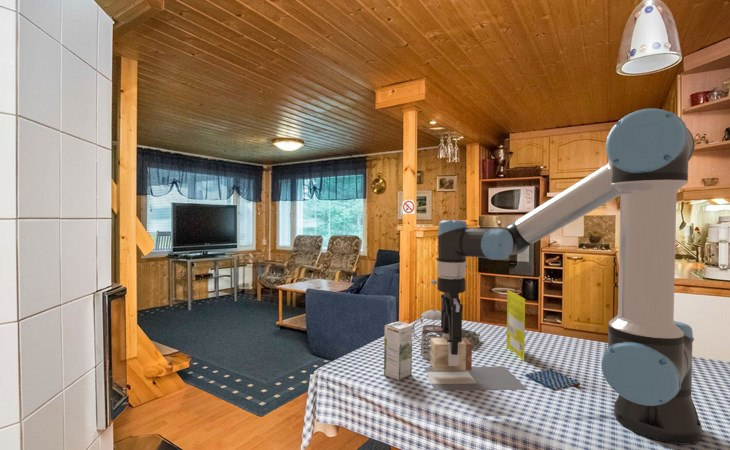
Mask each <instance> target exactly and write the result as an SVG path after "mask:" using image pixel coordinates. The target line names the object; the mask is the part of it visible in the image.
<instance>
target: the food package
mask: <svg viewBox="0 0 730 450" xmlns="http://www.w3.org/2000/svg"><path fill="white" fill-rule="evenodd" d="M506 298H507V300H506V301H507V302H506V303H507V304H506V347H507V349H508V350H509V351H510V352H514V354H516V355H517V356H518V357H519V358H520V359H521V360H522V361H523V362H525V345H526V344H525V343H526V342H525V341H526V339H525V336H526V335H525V334H526V333H525V332H526V331H525V330H526V298H524V297H523V296H521V295H519V294H517V293H515V292H513V291H512V290H509V289H507V294H506Z"/></svg>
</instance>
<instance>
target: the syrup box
mask: <svg viewBox="0 0 730 450" xmlns="http://www.w3.org/2000/svg"><path fill="white" fill-rule="evenodd" d="M412 328H414V327H413V324H409V323H407V322H402V321H395V322H391V323H388V324H385V325H384V343H383V344H384V346H383V347H384V348H383V349H384V350H383V352H384V355H383V375H384V376H386V377H389V378H391V379H394V380H397V381H401V380H403V379H405V378H408V377H409V376H412V370H413V369H412V368H413V367H412V366H413V362H412V361H413V360H412V359H413V358H412V357H413V329H412Z"/></svg>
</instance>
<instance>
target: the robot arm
mask: <svg viewBox="0 0 730 450" xmlns="http://www.w3.org/2000/svg"><path fill="white" fill-rule="evenodd" d="M685 123H686V122H685V121H684V120H683V119H682V118H681V117H680V116H678V114H676V113H674V112H672V111H667V110H665V109H660V108H654V107H653V108H652V107H651V108H643V109H639V110H636V111H633V112H631V113H627V115H624V116H623V117H622V118H620V120H618V121H617V122H616V123H615V124H614V125H613V126H612V127H611V129H610V130H609V132H608V134H607V137H606V139H605V140H606V141H605V151H606V155H607V158H608V161H607V163H605V165H603V166H602V167H600V168H598V169H597V170H594V172H592V173H590V174H588V175H587V176H585V177H584V178H582V179H581V180H579V181H577V182H575V183H574V184H572V185H571V186H569V187H567V188H566V189H564V190H563V191H561V192H560V193H558V194H556V195H555V196H553V197H551V198H550V199H548V200H546V201H545V202H544V203H542V204H541V205H539V206H537V207H535V208H534V209H532V210H531V211H529V212H527V213H526V214H524V215H522V216H521V217H519V218H518V219H516V220H515V221H513V222H511V223H510V224H508V225H507V226H505V227H499V228H497V227H495V228H493V227H492V228H480V227H479V228H478V227H477V228H471V227H468V226H467V221H465V220H459V219H458V220H456V219H453V220H452V219H451V220H449V219H448V220H447V219H445V220H444V219H443V220H440V221H439V223H438V229H437V230H438V231H437V275H438V277H437V280H436V281H437V284H436V285H437V286H436V287H437V291H439V292H440V293H442V294H441V295H440V298H441V299H440V301H441V302H440V303H441V305H440V306H441V311H440V312H441V320H440V326H441V329H442V332H443V333H444V334H443V338H449V340H447V342H448V366H459V342H462V329H463V309H464V308H463V307H464V306H463V304H462V303H461V299H460V298H459V294H462V293H464V292H466V285H467V284H466V281H467V280H466V270H467V268H468V267H469V266H468V264H467V257H471V258H479V259H480V258H481V259H488V260H489V259H490V260H492V261H494V260H506V259H508V258H509V257H510V256H514V255H515V256H517V255H518V254H522V253H523V252H525V251H527V250H528V247H530V246H531V245H533V244H535V243H536V242H538V241H540V240H542V239H544V238H546V237H547V236H549V235H551V234H553V233H554V232H556V231H558V230H560V229H562V228H564V227H566V226H567V225H569V224H571V223H573V222H575V221H576V220H578V219H579V218H582V217H584V216H585V215H587V214H589V213H591V212H593V211H594V210H596V209H598V208H600V207H602V206H604V205H606V204H607V203H610V202H611V201H613V200H614V199H616V198H618V197H620V198H619V199H620V201H619V202H620V203H619V246H618V247H619V248H618V249H619V251H618V253H619V254H618V290H617V291H618V296H617V297H618V299H617V302H618V303H617V306H618V307H617V315H616V316H615V317H613V318H612V319H610V320H609V321H608V332H607V334H608V335H607V337H608V338H607V348H606V349H605V351H604V353H603V354H602V358H601V371H602V375H603V377H604V379H605V381H606V383H607V384H608V386H610V387H611V388H612V389H613V391H615V393H617V394H618V395H617V398H616V400H615V401H614V406H613V413H614V414H613V416H614V418H615V419H616V420H617V421H618V422H619V424H621V425H623V426H624V427H625V428H626V429H629V430H630V431H633V432H634V433H637V434H639V435H641V436H643V437H647V438H650V439H653V440H657V441H660V442H665V443H670V444H676V445H691V444H696V443H698V442H700V441H701V440H702V438H703V437H702V436H703V428H702V427H703V426H702V423H701V420H700V419H699V415H698V412H697V409H696V406H695V403H694V401H693V398H692V383H693V382H692V378H693V372H692V371H693V342H694V341H695V338H694V337H693V336H694V335H693V328H692V327H691V325H689V324H687V323H684V322H680V321H676V320H675V318H674V316H675V315H674V312H675V311H674V310H675V279H676V278H675V276H676V275H675V274H676V271H675V269H676V238H677V237H676V236H677V235H676V234H677V193H678V192H679V190H681V189H683V187H685V186H686V185H687V184H688V183H689V180H688V179H689V162H690V160H692V157H693V155H694V152H695V147H696V146H695V143H696V142H695V138H694V136H693V133H692V132H691V130H690V129H689V128H688V127H687V125H686V124H685Z"/></svg>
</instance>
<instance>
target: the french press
mask: <svg viewBox="0 0 730 450" xmlns="http://www.w3.org/2000/svg"><path fill="white" fill-rule="evenodd" d="M430 283H431V284H432V285H437V280H436V279H433V280H431V281H430ZM420 316H421V317H419V318H417V319H416V320H415V322H414V323H413V324H412V326H413V327H412V330H413V332H412V336H413V337H414V339H415V340H416V341H418V342H419V343H420V355H421V357H422V359H425V360H429V361H430V341H431V338H443V334H444V333H443V332H442V329H441V325H440V324H439V325H438V324H425V325H424V326H422V332H421V338H419V337H418V336H417V335H416V332H415V330H414V328H415V326H416V323H418V322H419V321H420V323H421V324H423V322H424V319H427V320H431V321H441V311H440V310H437V309H430V310H426V311H423V312H422V313H421V315H420ZM431 333H434V334H431ZM436 334H437V335H436Z"/></svg>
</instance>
